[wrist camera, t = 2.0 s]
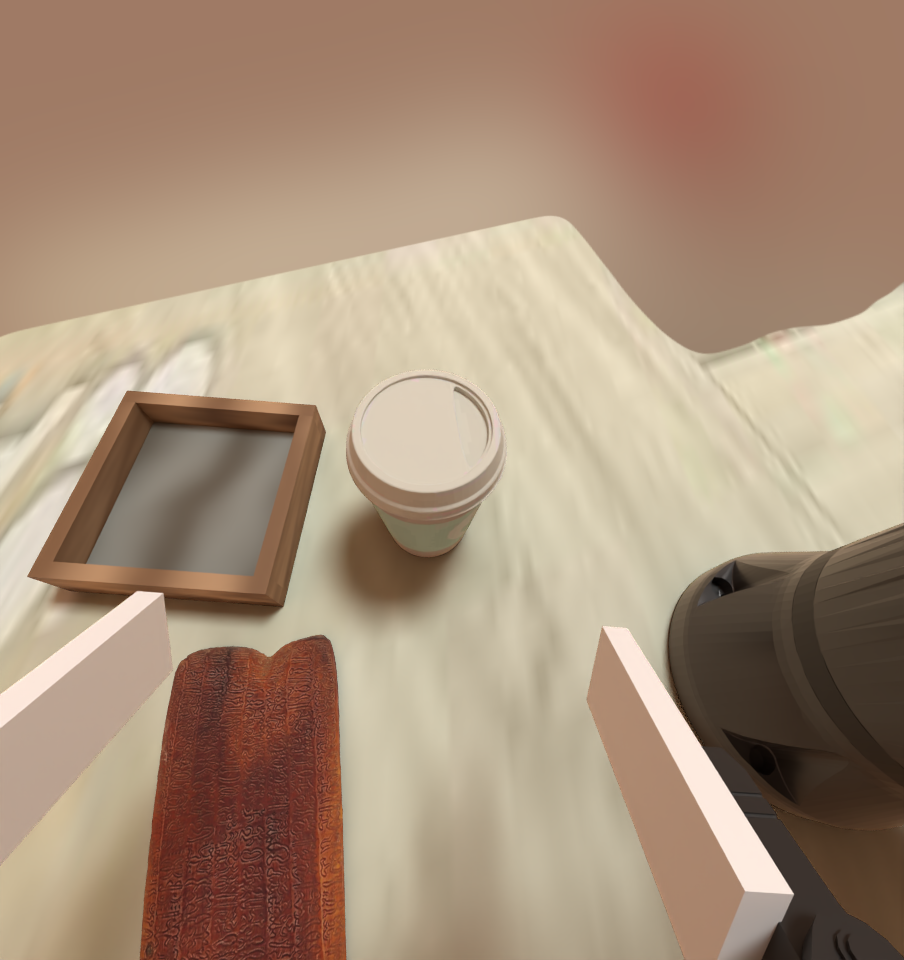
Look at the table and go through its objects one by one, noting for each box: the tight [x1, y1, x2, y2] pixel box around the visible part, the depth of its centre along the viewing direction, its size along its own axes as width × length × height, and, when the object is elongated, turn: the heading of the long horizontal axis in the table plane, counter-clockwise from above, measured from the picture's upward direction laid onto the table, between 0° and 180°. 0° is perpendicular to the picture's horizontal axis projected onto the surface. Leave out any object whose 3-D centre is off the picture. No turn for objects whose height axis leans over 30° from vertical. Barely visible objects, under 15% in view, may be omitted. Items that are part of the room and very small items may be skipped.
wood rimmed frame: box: [27, 391, 326, 607], centre depth 30 cm, size 14×14×4 cm
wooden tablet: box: [140, 635, 346, 960], centre depth 21 cm, size 27×10×2 cm, turn 9°
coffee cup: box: [346, 370, 507, 557], centre depth 27 cm, size 9×8×12 cm
